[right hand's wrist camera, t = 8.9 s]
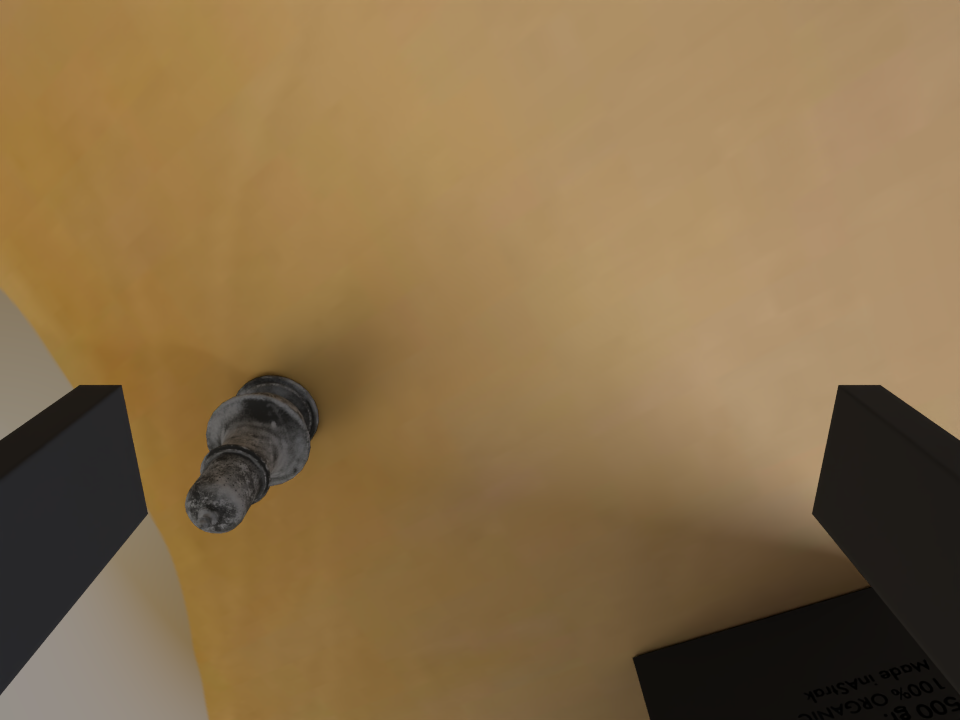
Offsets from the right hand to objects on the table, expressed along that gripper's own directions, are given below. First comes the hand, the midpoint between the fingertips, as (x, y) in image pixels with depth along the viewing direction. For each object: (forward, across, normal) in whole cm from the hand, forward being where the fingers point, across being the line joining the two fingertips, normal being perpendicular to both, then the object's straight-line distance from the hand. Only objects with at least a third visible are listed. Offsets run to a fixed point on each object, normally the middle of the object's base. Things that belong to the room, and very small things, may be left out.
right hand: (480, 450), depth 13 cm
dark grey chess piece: (+27, -13, -12) cm, 32 cm away
